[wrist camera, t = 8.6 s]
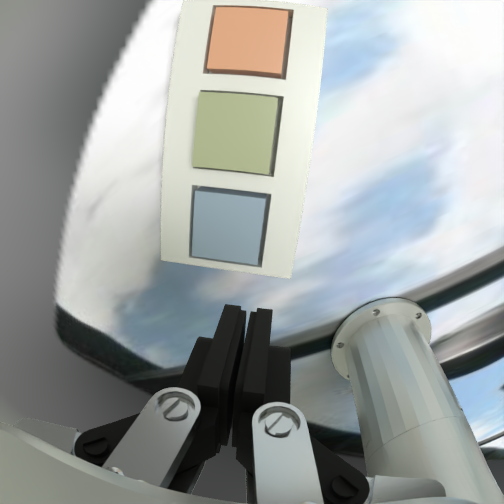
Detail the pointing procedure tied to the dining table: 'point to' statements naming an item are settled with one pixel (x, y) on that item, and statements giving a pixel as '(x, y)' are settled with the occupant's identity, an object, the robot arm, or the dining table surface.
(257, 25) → the terracotta key
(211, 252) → the slate blue key
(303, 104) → the keypad
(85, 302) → the dining table surface
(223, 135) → the olive key
